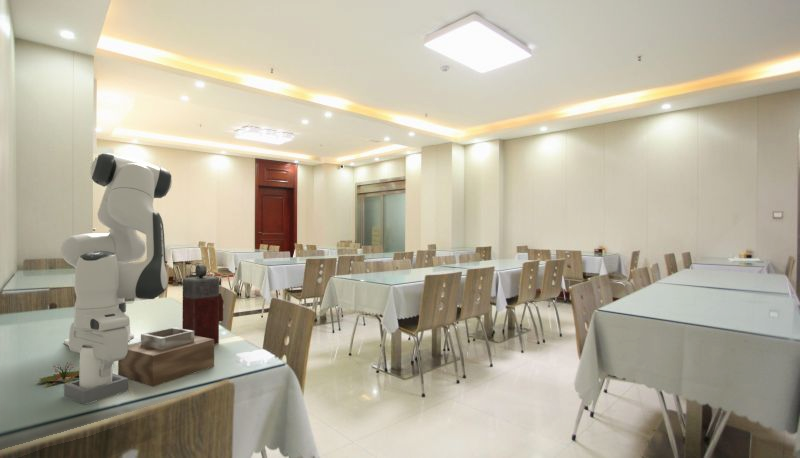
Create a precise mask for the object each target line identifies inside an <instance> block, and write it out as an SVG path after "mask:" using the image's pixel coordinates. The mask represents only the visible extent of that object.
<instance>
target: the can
mask: <svg viewBox="0 0 800 458" xmlns="http://www.w3.org/2000/svg"><path fill="white" fill-rule="evenodd" d="M101 368H102V363H101V359H97V358H95V357H94V353H93V347H84V345H83V346H82V350H81V351H80V353H79V370H78V371H79V375H78V376H79V378H78V380H79V386H80V387H83V388H85V389H90V388H93V387H96V386H100V385H103V384H106V383H110V382H112V373H113V366H112V367H111V374H110V376H107V377H101V376H99V374H100V373H99V370H100V369H101Z"/></svg>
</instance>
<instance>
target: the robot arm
mask: <svg viewBox="0 0 800 458" xmlns="http://www.w3.org/2000/svg"><path fill="white" fill-rule="evenodd" d="M90 175H91V179H92V181H93V182H94V183H95V184H97V185H99V186H101V187H104V188H105V190H104V193H103V194H102V195H103V196H102V198H101V202H100V203H99V208H98V210H97V219H98V220H99V223H100V224H102V225H103V226H105V227H107V228H109V230H108V232H105V233H80V234H74V235H70V236H68V237H67V238H66V239H64V241H62V244H61V247H60V253H61V257H62V259H63V260H64V261H65V262H66V263H67V264H68V265H71V266H72V267H74V268H75V273H74V292H75V296H76V297H75V298H76V299H75V303H74V308H73V309H74V312H73V322H72V323H71V325H70V326H69V335H68V338H67V339H64V340H63V343H64V344H65V345H66V346H68V347H69V350H70V351H71V352H74V353H77V354H80V351H81V350H82V346H83V345H84V347H93V353H94V357H95V358H97V359H101V363H102V368H101V369H100V370H99V373H100V374H99V376H101V377H107V376H110V374H111V367H112V368H113V365H114V363H115V362H118V360H122V359H124V358H125V357H126V355H127V352H128V345H129V342H130V340H131V339H133V338H135V335H134V334H133V333H131V323H130V322H131V321H130V316H129V315H127V314H126V311H127V302H126V301H125V299H142V300H143V299H144V300H154V299H157V298H158V297H159V296H160V295H162V294H163V293H164V292H165V291H166V290H167V288H168V284H169V279H168V272H167V264H166V248H165V246H166V245H165V243H166V241H165V231H164V222H163V219H162V216H161V214H160V213H159V212H158V211H156V210H155V209H154V204H153V203H154V199H162V198H164V197H166V195H167V194H168V193H169V192H170V191H171V188H172V185H173V183H172V182H173V179H172V175H171V172H170V171H169V170H168V169H165V168H163V167H161V166H159V167H158V166H156V165H153V164H151V163H149V162H146V161H143V160H137V159H134V158H130V157H124V156H119V155H115V154H114V153H109V152H108V153H107V152H106V153H105V152H103V153H101V154H98V156H97V157H96V158H94V159H93V161H92V163H91V166H90ZM138 232H140V233H142V234H144V235H145V238H146V239H145V240H146V241H144V238H142V237H141V236H140V235H139V234H138ZM145 253H146V259H145V260H143V261H141V262H140V261H139V262H136V261H138V260H141V259H142V258H143V256H144V255H145ZM134 261H135V262H134Z"/></svg>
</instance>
